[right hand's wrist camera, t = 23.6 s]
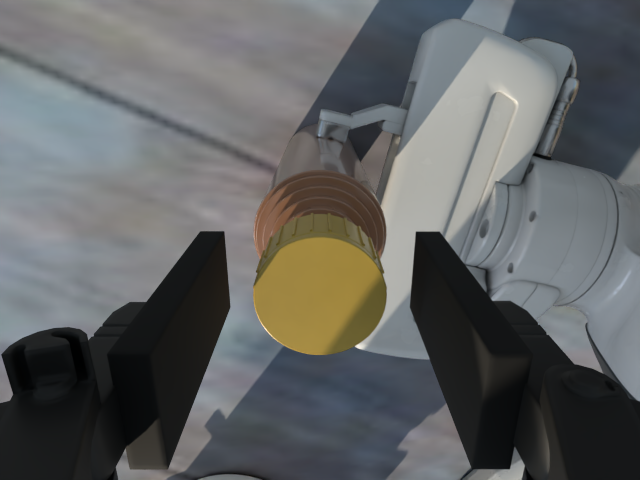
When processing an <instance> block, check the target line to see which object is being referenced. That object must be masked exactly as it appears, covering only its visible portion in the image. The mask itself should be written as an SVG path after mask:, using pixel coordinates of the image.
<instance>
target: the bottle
mask: <svg viewBox="0 0 640 480" xmlns="http://www.w3.org/2000/svg"><path fill="white" fill-rule="evenodd" d="M317 126H318V124H313V125H309V126H306V127H304V128H302V129H301V130H299V131H298V132H297V133H296V134H295V135H294V136H293V137H292V138H291V140H290V142H289V144H288V146H287V148H286V150H285V152H284V154H283V157H282V159H281V161H280V163H279V165H278V168H277V170H276V172H275V174H274V176H273V178H272V181H271V183H270V185H269V187H268V189H267V191H266V194H265V196H264V198H263V200H262V202H261V205H260V207H259V209H258V211H257V214H256V218H255V222H254V243H255V247H256V251H257V253H258V256H259V258H261V255H262V252H263V250H265V249H266V247H267V244H268V241H269V238H270V236H271V237H273V236H274V234H275V233H276V232H277V231H278V230H279V229H280V226H281V225H283V226H284V225H285V224H287V223H289V222H290V221H292V220H294V218H295V217H297V218H299V217H303V216H306V215H311V213H313V214H327V215H328V213H330V214H331V215H334V216H338V217H341V218H343V219H344V217H345V218H347V220H348V221H350V222H352V223H353V224H355V225H356V226H357V227H358V226H360V227H361V230H362V231H363V232H364V233H365V234H366V235H367V237H368V238H369V237H370V238H371V239H372V242H373V246H374V249H375V251H378V254H379V257H380V259H381V256H382V254H383V252H384V248H385V244H386V237H387V227H386V221H385V217H384V213H383V210H382V208H381V206H380V204H379V202H378V200H377V197H376V195H375V193H374V191H373V189H372V186H371V184H370V182H369V180H368V178H367V176H366V173H365V171H364V169H363V167H362V165H361V163H360V160H359V158H358V156H357V154H356V152H355V149H354V147H353V145H352V143H351V141H350V140H349V138H348V137H347V140H346V143H342V142H338V141H336V140H334V139H333V138H332V137H330V138H321V137H318V136H316V131H317Z"/></svg>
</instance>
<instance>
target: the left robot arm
mask: <svg viewBox="0 0 640 480" xmlns="http://www.w3.org/2000/svg"><path fill="white" fill-rule="evenodd" d="M568 68H569V74H568V77H565V76H566V73H567V71H568ZM576 76H577V62H576V58H575V56H574V54H573V52H572V50H571V49H569V48H568V47H567V46H565V45H563V44H562V43H558V42H554V41H550V40H547V39H543V38H539V37H529V38H525V39H522V40H520V41H516V40H514V39H512V38H510V37H507V36H505V35H503V34H501V33H498V32H496V31H494V30H491V29H488V28H486V27H483V26H480V25H477V24H474V23H471V22H468V21H465V20H461V19H447V20H444V21H442V22H439V23H438V24H436V25H434V26H433V27H431V28H430V29H428V30H427V31H425V32H424V33H423V35H422V36H421V39H420V42H419V45H418V49H417V52H416V56H415V59H414V63H413V66H412V70H411V73H410V77H409V80H408V84H407V87H406V91H405V94H404V98H403V101H402V104H401V108H400V107H396V106H392V105H388V104H384V103H382V104H378V105H375V106H372V107H369V108H366V109H362V110H359V111H356V112H353V113H351V115H348V114H344V113H340V112H336V111H332V110H327V109H321V112H320V117H319V121H318V126H317V131H316V136H318V137H321V138H330V137H332V138H333V139H334V140H336V141H338V142H342V143H346V140H347V137H348V133H349V129H350V130H351V129H354V128H357V127H361V126H364V125H368V124H371V123H374V122H378V124H377V125H378V127H379V128H380V129H382V130H383V131H385V132H389V133H393V136H392V139H391V143H390V146H389V150H388V153H387V157H386V160H385V164H384V167H383V171H382V174H381V178H380V181H379V185H378V188H377V192H376V197H377V200H378V202H379V204H380V206H381V208H382V210H383V213H384V217H385V221H386V227H387V237H386V244H385V248H384V252H383V254H382V256H381V259H380V260H381V264H382V267H383V270H384V274H383V276H384V280H385V283H386V286H387V290H386V291H387V300H386V306H385V311H384V313H383V316H382V318H381V320H380V322H379V324H378V325H377V327H376V328H375V330H374V331H373V332H372V333H371V334H370V335H369V336H368V337H367V338H366V339H365V340H364V341H362V342H361V343H359V344H358V345H356V346H355V347H356V348H358V349H361V350H364V351H368V352H373V353H378V354H383V355H390V356H396V357H403V358H412V359H424V360H430V359H429V356H428V353H427V351H426V348H425V346H424V343H423V340H422V338H421V335H420V333H419V330H418V328H417V325H416V322H415V320H414V317H413V315H412V312H411V309H410V297H411V284H412V272H413V260H414V247H415V235H416V231H440V233H441V234H442V235H443V237H444V238H445V239H446V240H447V242H448V243H449V244H450V246H451V247H452V248H453V250H454V251H455V252H456V254H457V255H458V256H459V258H460V259H461V260H462V261H463V263H464V264H465V265H466V267H467V268H468V269H469V271H470V272H471V273H472V275H473V276H474V277H475V278H476V280H477V281H478V282H479V284H480V285H481V286H482V288H483V289H484V290H485V292H486V293H487V294H488V296H489V297H490V298H491V299H492V301H512V302H513V303H515V304H517V305H518V306H520V307H522V308H523V309H525V310H527V311H528V312H529V313H530V315H531V316H532V317H533V318H534V319H535V320H537V319H538V318H539V317H540V316H541V315H542V314H544V313H545V312H546V311H547V310H548V309H550V308H551V307H552V306H569V307H573V308H575V309H577V310H579V311H580V312H582V313H583V314H584V315H585V316H586V318H587V320H588V323H586V326H585V327H586V331H587V335H588V338H589V341H590V343H591V346H592V348H593V351H594V353H595V355H596V358H597V360H598V362H599V364H600V366H601V369H602V371H603V373H604V374H605V375H607V376H608V377H610V378H611V379H613V380H614V381H615V382H617V383H618V384H619V385H620V386H621V387H622V388H623V390H624V391H625V392H626V393H627V395H628V397H629V399H633V400H637V401H640V184H638V185H626V184H622V183H620V182H618V181H616V180H615V179H613V178H612V177H610V176H608V175H606V174H604V173H602V172H599V171H596V170H593V169H588V168H584V167H580V166H576V165H572V164H568V163H564V162H560V161H556V160H552V159H551V156H552V154H553V151H554V149H555V146H556V144H557V142H558V139H559V137H560V134H561V132H562V129H563V128H562V127H563V125H564V121H565V117H566V115H567V112H568V110H569V108H570V106H571V104H573V102H574V101H575V99H576V96H577V94H578V91H579V87H580V80H579V79H576ZM198 480H261V479H258V478H254V477H250V476H245V475H237V474H222V475H213V476H208V477H204V478H201V479H198Z"/></svg>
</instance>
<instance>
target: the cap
mask: <svg viewBox="0 0 640 480" xmlns="http://www.w3.org/2000/svg"><path fill="white" fill-rule="evenodd" d="M256 272H257V276H256V280H255V283H254V286H253V289H254V294H253V297H254V305H255V310H256V313H257V316H258V318H259V320H260V322H261V324H262V325H263V327H264V328H265V329H266V331H267V332H268V333H269V334H270V335H271V336H272V337H273V338H274V339H276V340H277V341H278V342H279V343H281V344H283V345H284V346H286V347H288V348H290V349H292V350H295V351H298V352H301V353H306V354H313V355H327V354H334V353H339V352H342V351H345V350H348V349H350V348H352V347H354V346H356V345H358V344H359V343H361V342H362V341H364V340H365V339H366V338H367V337H368V336H369V335H370V334H371V333H372V332H373V331H374V330H375V328H376V327H377V325H378V324H379V322H380V320H381V318H382V316H383V313H384V311H385V306H386V300H387V291H386V290H387V286H386V283H385V280H384V276H383V274H384V270H383V267H382V264H381V260H380V257H379V254H378V251H375V249H374V246H373V242H372V239H371V238H370V237H369V238H368V237H367V235H366V234H365V233H364V232H363V231H362V230H361V227H360V226H358V227H357V226H356V225H355V224H353V223H352V222H350V221H348V220H347V218H345V217H344V219H343V218H341V217H338V216H334V215H331V214H330V213H328V215H327V214H313V213H311V215H306V216H303V217H299V218H297V217H295V218H294V220H292V221H290V222H289V223H287V224H285V225H284V226H283V225H281V226H280V229H279V230H278V231H277V232H276V233H275V234H274V236H273V237H271V236H270V238H269V241H268V244H267V247H266V249H265V250H263V252H262V255H261V258H260V261H259V264H258V267H257V270H256Z"/></svg>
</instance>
